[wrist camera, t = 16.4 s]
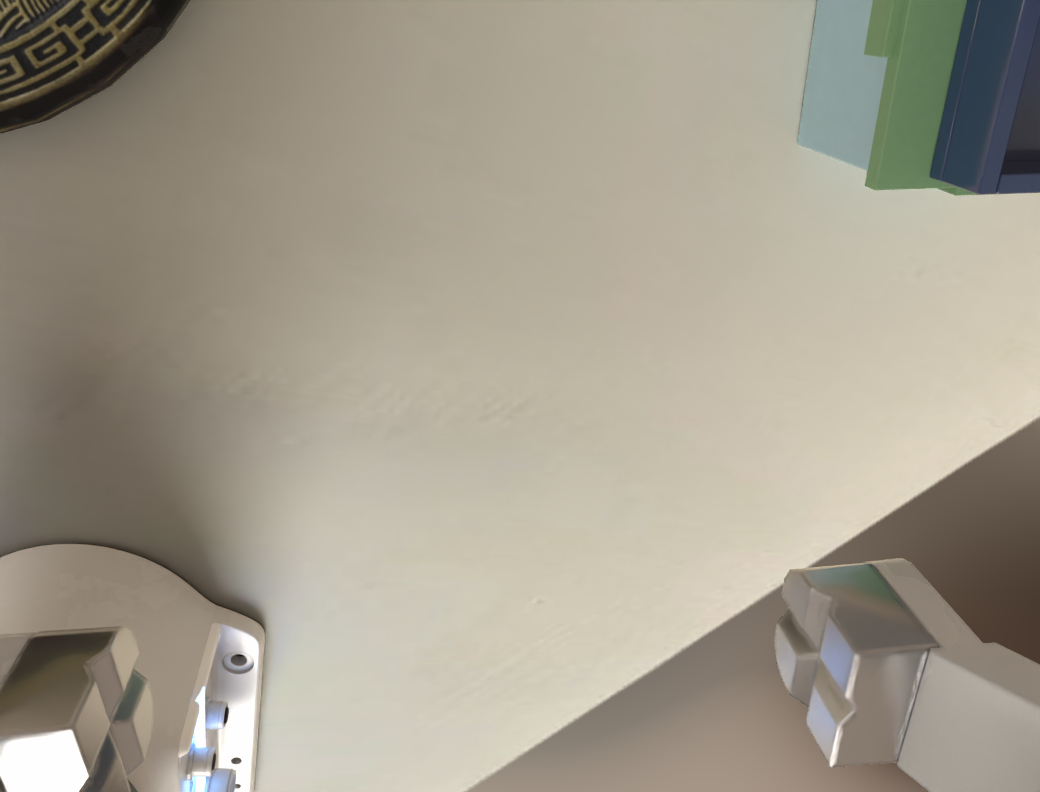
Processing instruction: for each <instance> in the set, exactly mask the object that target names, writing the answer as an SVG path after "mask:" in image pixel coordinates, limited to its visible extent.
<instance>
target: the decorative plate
mask: <svg viewBox="0 0 1040 792" xmlns="http://www.w3.org/2000/svg"><path fill="white" fill-rule="evenodd" d="M189 1H190V0H0V133H4V132H7V131H11V130H14V129H18V128H21V127H25V126H28V125H32V124H36V123H39V122H43V121H46V120H49V119H51V118H52V117H54V116H56V115H58V114H60V113H62V112H63V111H65V110H67V109H69V108H71V107H73V106H74V105H76V104H78V103H80V102H82V101H84V100H85V99H87V98H89V97H91V96H93V95H95V94H96V93H98V92H100V91H102V90H104V89H106V88H107V87H109V86H111V85H112V84H113V83H114V82H116V81H117V80H118V79H119V78H120V77H121V76H122V75H123V74H124V73H126V72H127V71H128V70H129V69H130V68H131V67H132V66H133V65H134V64H135V63H137V62H138V61H139V60H140V59H141V58H142V57H143V56H144V55H145V54H147V53H148V52H149V51H150V50H151V49H152V48H153V47H154V46H155V45H157V44H158V43H159V42H160V41H161V40H162V39H163V38H164V37H165V36H166V34H167V33H168V31H169V30H170V29H171V27H172V26H173V24H174V23H175V21H176V20H177V18H178V17H179V16H180V14H181V13H182V11H183V10H184V8H185V7H186V5H187V4H188V3H189Z"/></svg>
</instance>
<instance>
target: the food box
mask: <svg viewBox="0 0 1040 792" xmlns="http://www.w3.org/2000/svg"><path fill="white" fill-rule="evenodd" d="M966 3H967V0H817V7H816V14H815V21H814V28H813V35H812V42H811V50H810V57H809V64H808V71H807V78H806V85H805V92H804V100H803V107H802V114H801V121H800V128H799V135H798V142H797V143H798V145H801V146H803V147H806V148H809V149H811V150H814V151H817V152H819V153H822V154H824V155H827V156H830V157H832V158H835V159H837V160H840V161H843V162H845V163H848V164H850V165H853V166H856V167H858V168H861V169H864V170H866V171H867V177H866V182H865V186H867V187H869V188H871V189H874V190H895V189H925V188H937V189H940V190H943V191H945V192H948V193H951V194H953V195H978V194H975V193H972V192H969V191H966V190H963V189H961V188H958V187H955V186H952V185H949V184H946V183H943V182H941V181H938V180H935V179H932V178H930V171H931V166H932V162H933V157H934V152H935V148H936V143H937V138H938V134H939V129H940V124H941V120H942V115H943V110H944V106H945V101H946V96H947V92H948V87H949V82H950V77H951V73H952V68H953V63H954V59H955V54H956V49H957V45H958V40H959V35H960V31H961V26H962V21H963V17H964V12H965V7H966Z"/></svg>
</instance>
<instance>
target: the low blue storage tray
mask: <svg viewBox="0 0 1040 792" xmlns="http://www.w3.org/2000/svg"><path fill="white" fill-rule="evenodd" d="M930 178H932V179H935V180H938V181H941V182H943V183H946V184H949V185H952V186H955V187H958V188H961V189H963V190H966V191H969V192H972V193H975V194H978V195H985V194H1015V193H1040V0H967V3H966V7H965V12H964V17H963V21H962V26H961V31H960V35H959V40H958V45H957V49H956V54H955V59H954V63H953V68H952V73H951V77H950V82H949V87H948V92H947V96H946V101H945V106H944V110H943V115H942V120H941V124H940V129H939V134H938V138H937V143H936V148H935V152H934V157H933V162H932V166H931V171H930Z"/></svg>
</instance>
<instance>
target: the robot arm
mask: <svg viewBox="0 0 1040 792" xmlns="http://www.w3.org/2000/svg"><path fill="white" fill-rule="evenodd" d="M782 596H783V598H784V599H785V601H786V603H787V604H788V606H789V609H788V610H787V612H786V613H785V614H784V615H783V616H782V617H781V618H780V619H779V620H778V621H777V625H776V633H775V641H774V644H775V652H776V660H777V665H778V668H779V671H780V674H781V677H782V680H783V682H784V684H785V686H786V688H787V690H788V692H789V693H790V695H791V696H792V697H794V698H795V699H797V700H799V701H800V702H802V703H803V704H804V705H806V706H807V707H809V709H808V714H807V720H806V725H807V727H808V729H809V730H810V732H811V734H812V736H813V738H814V739H815V741H816V743H817V745H818V746H819V748H820V750H821V752H822V754H823V756H824V757H825V759H826V761H827V763H828V765H829V767H830V768H832V767H844V766H856V765H868V764H880V763H893V762H898V764H897V766H898V767H900V768H901V769H902V770H903V771H904V772H906V773H907V774H908V775H910V776H911V777H912V778H913V779H915V780H916V781H917V782H918V783H920V784H921V785H922V786H923V787H925V788H926V789H927V790H929V791H930V792H1040V664H1037V663H1035V662H1033V661H1031V660H1029V659H1027V658H1025V657H1023V656H1021V655H1019V654H1017V653H1015V652H1013V651H1011V650H1009V649H1007V648H1005V647H1003V646H1001V645H999V644H997V643H984V644H983V643H982V641H981V640H980V639H979V638H978V637H977V636H976V635H975V634H974V633H973V631H972V630H971V629H970V628H969V627H968V626H967V625H966V624H965V622H964V621H963V620H962V619H961V618H960V617H959V616H958V615H957V614H956V613H955V611H954V610H953V609H952V608H951V607H950V606H949V605H948V604H947V602H946V601H945V600H944V599H943V598H942V597H941V596H940V595H939V593H938V592H937V591H936V590H935V589H934V588H933V587H932V585H931V584H929V582H928V581H927V580H926V579H925V578H924V576H922V574H921V573H920V572H919V571H918V570H917V569H916V568H915V566H914V565H913V564H912V563H910V562H909V561H907V560H905V559H902V558H897V559H888V560H879V561H869V562H864V563H861V564H860V563H858V564H847V565H836V566H825V567H815V568H803V569H792V570H790V571H789V572H788V574H787V576H786V577H785V579H784V584H783V590H782ZM264 647H265V632H264V630H263V628H262V627H261V625H260V624H258V623H257V622H256V621H254V620H252V619H250V618H249V617H246V616H244V615H242V614H239V613H237V612H234V611H231V610H229V609H226V608H223V607H220V606H217V605H215V604H214V603H212V602H210V601H209V600H207V599H206V598H205V597H203V596H202V595H201V594H200V593H199V592H197V591H196V590H195V589H194V588H193V587H191V586H190V585H189V584H188V583H187V582H185V581H184V580H183V579H181V578H180V577H179V576H177V575H176V574H174V573H172V572H171V571H169V570H167V569H166V568H164V567H162V566H160V565H158V564H156V563H154V562H152V561H150V560H147V559H145V558H142V557H140V556H137V555H134V554H131V553H128V552H125V551H121V550H117V549H113V548H108V547H102V546H95V545H86V544H53V545H43V546H37V547H32V548H27V549H23V550H20V551H16V552H13V553H10V554H8V555H5V556H3V557H0V792H254V783H255V770H256V756H257V743H258V729H259V715H260V702H261V688H262V674H263V660H264ZM236 654H241V655H244V656H243V657H240V656H237V655H236Z"/></svg>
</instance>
